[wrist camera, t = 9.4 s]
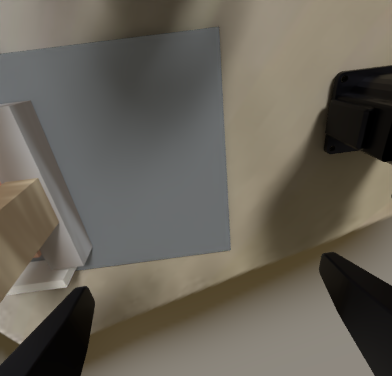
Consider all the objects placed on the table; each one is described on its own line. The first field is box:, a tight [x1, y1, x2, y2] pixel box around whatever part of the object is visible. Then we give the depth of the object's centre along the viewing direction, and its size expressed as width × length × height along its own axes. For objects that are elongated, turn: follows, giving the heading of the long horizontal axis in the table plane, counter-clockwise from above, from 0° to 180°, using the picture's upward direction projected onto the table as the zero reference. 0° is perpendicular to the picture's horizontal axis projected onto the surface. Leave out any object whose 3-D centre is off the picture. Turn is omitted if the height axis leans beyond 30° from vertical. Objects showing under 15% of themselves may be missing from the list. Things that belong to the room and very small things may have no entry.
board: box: [0, 27, 231, 271], centre depth 21 cm, size 24×20×1 cm
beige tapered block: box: [0, 100, 92, 302], centre depth 15 cm, size 3×14×12 cm, turn 7°
